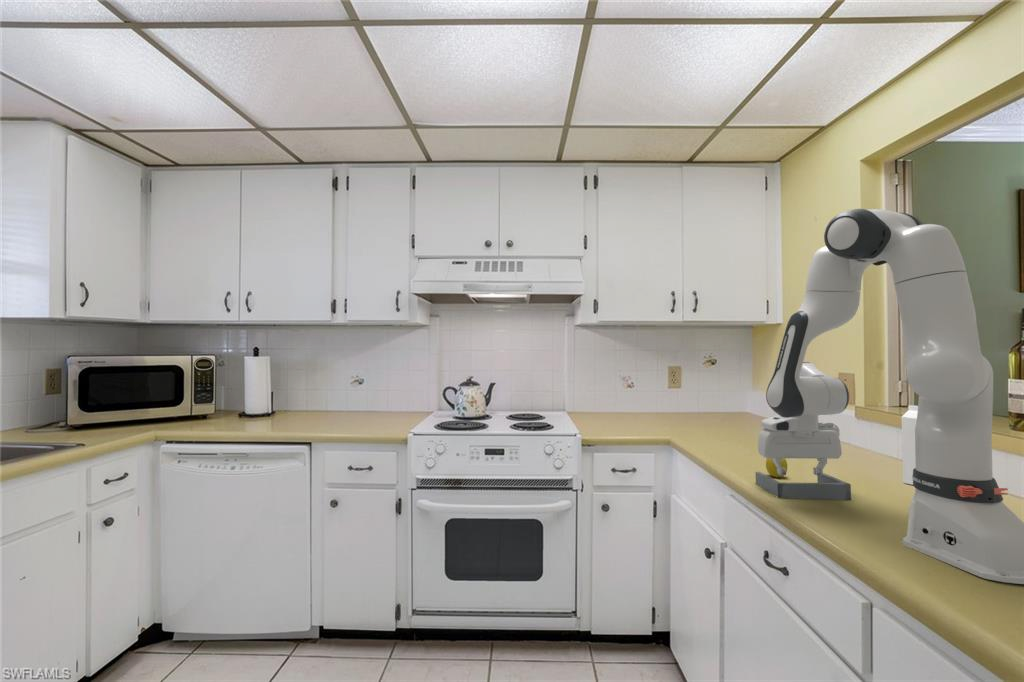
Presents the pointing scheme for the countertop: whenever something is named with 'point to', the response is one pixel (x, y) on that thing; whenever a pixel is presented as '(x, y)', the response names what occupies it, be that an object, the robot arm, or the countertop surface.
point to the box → (807, 488)
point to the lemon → (773, 469)
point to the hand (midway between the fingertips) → (799, 474)
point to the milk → (909, 443)
